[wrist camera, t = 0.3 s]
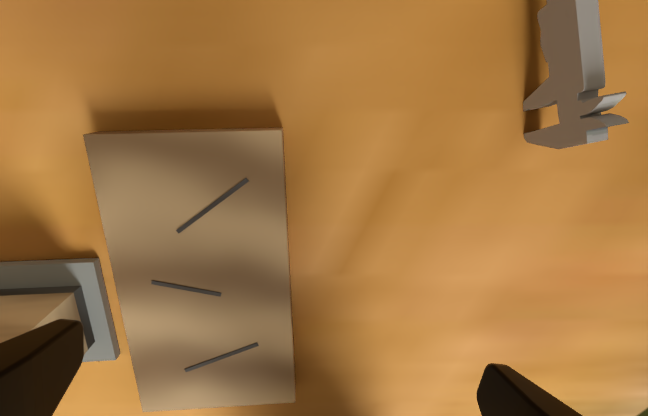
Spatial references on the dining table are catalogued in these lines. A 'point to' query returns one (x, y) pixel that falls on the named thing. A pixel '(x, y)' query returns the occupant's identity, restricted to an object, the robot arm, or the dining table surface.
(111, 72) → the dining table surface
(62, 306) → the block
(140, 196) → the oak board
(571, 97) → the caliper
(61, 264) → the mat
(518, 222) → the dining table surface
